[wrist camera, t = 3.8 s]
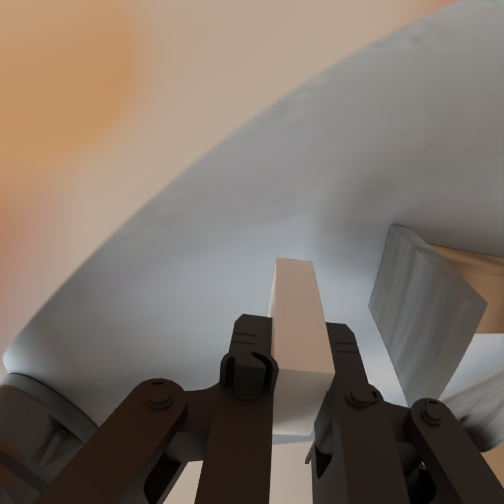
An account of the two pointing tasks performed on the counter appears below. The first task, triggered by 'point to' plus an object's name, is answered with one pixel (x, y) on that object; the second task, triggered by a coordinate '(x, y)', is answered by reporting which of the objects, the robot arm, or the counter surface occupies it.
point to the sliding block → (433, 308)
